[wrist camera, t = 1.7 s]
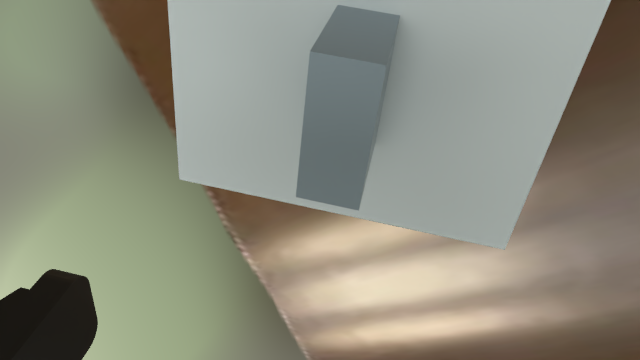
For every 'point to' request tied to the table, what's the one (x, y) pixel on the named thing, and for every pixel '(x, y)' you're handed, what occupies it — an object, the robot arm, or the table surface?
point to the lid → (378, 103)
